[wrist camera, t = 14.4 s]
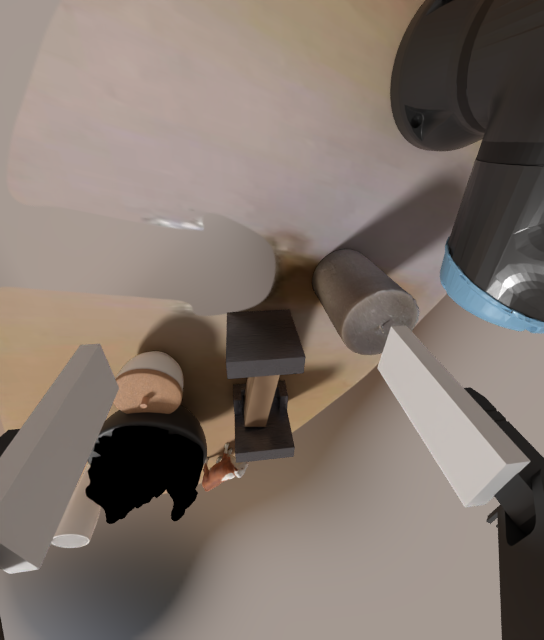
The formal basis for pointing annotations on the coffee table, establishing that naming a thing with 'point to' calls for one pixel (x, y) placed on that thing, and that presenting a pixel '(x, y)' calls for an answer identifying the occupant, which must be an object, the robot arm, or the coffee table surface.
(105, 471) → the dark grey bowl
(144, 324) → the coffee table surface
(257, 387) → the rail
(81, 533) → the drinking glass
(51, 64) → the coffee table surface
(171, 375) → the lidded jar
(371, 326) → the pillar candle
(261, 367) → the grey stand
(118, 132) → the coffee table surface
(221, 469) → the bull figurine
